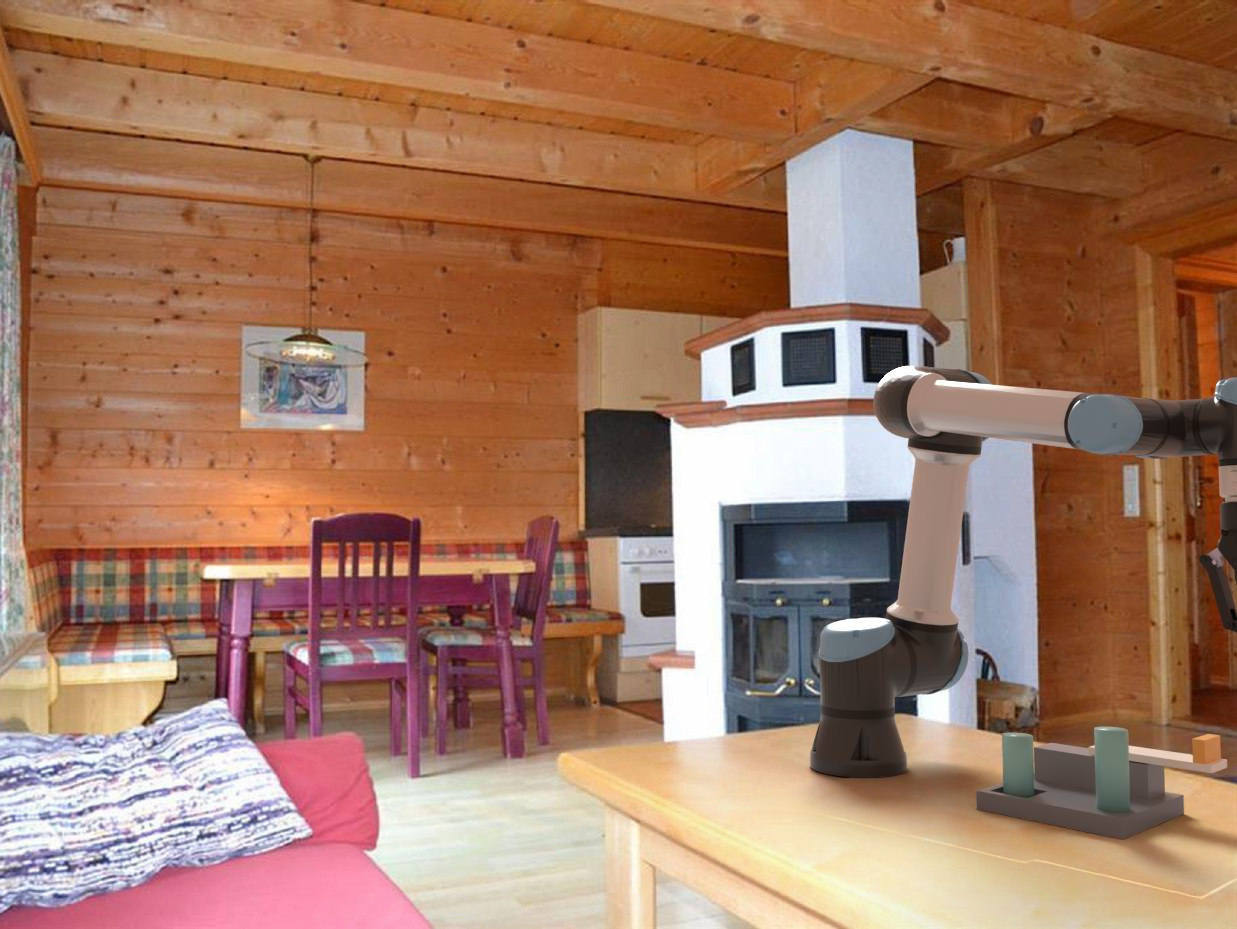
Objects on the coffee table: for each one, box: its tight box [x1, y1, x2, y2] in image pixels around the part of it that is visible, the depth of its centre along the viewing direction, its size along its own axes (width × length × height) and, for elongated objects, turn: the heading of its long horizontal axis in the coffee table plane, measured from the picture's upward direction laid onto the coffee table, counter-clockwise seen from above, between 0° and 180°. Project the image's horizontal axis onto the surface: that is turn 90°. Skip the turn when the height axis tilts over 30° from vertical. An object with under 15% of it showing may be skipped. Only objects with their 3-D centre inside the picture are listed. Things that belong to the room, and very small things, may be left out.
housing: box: [975, 726, 1185, 840], centre depth 154 cm, size 20×18×12 cm
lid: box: [1087, 733, 1228, 774], centre depth 152 cm, size 16×5×4 cm, turn 42°
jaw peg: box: [1001, 732, 1034, 798], centre depth 155 cm, size 4×4×10 cm
